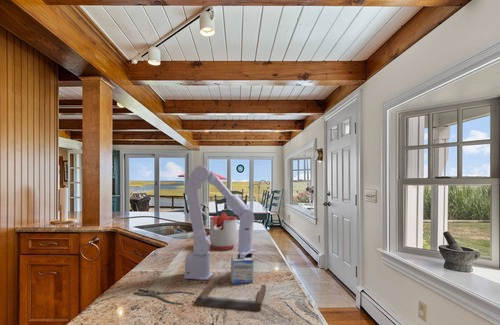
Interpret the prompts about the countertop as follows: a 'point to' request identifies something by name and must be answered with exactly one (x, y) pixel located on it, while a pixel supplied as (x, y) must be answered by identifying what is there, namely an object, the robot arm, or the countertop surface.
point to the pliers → (154, 293)
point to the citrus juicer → (223, 231)
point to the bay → (230, 303)
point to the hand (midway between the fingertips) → (244, 272)
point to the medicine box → (241, 270)
